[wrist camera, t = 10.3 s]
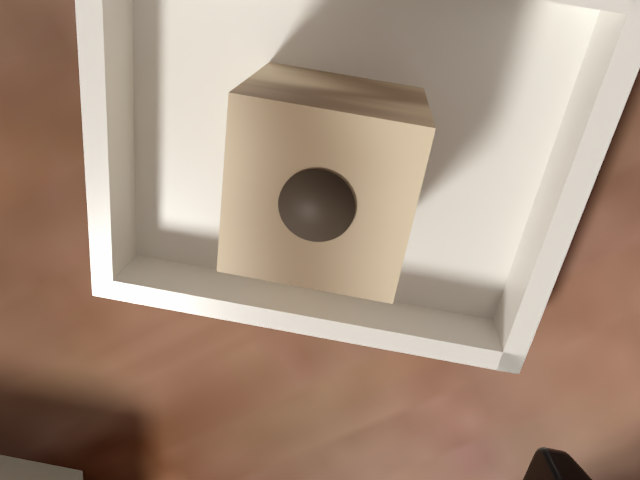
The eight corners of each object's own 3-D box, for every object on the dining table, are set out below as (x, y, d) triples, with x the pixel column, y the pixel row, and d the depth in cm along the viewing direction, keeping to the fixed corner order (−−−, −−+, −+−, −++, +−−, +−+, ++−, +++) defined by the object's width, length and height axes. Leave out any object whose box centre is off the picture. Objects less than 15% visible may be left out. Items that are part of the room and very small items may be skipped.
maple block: (423, 88, 17) (436, 129, 13) (391, 228, 20) (392, 305, 15) (269, 61, 17) (227, 92, 13) (255, 204, 20) (215, 272, 15)
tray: (631, -17, 16) (672, -15, 14) (505, 332, 21) (519, 374, 19) (112, -98, 16) (68, -109, 14) (122, 262, 22) (92, 295, 20)
